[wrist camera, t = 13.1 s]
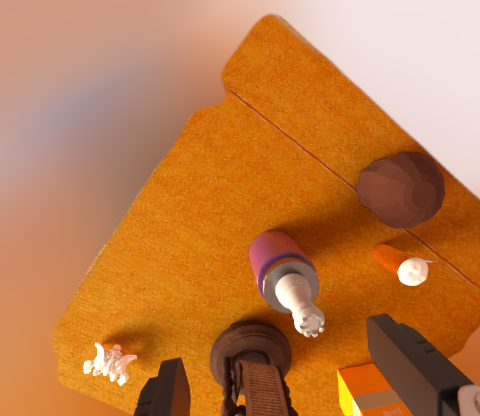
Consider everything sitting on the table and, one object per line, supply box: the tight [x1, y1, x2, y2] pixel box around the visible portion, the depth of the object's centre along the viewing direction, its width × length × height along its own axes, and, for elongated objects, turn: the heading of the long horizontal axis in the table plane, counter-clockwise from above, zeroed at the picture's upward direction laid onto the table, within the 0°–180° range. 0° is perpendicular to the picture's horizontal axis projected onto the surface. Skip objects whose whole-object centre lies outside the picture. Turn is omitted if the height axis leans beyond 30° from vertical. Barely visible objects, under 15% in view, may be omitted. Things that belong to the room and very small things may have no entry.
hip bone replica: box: [83, 342, 137, 386], centre depth 47 cm, size 8×4×7 cm
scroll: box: [210, 321, 298, 416], centre depth 41 cm, size 15×15×20 cm
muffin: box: [355, 152, 445, 228], centre depth 41 cm, size 12×11×10 cm
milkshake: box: [373, 244, 439, 286], centre depth 44 cm, size 4×5×10 cm
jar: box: [249, 230, 316, 299], centre depth 41 cm, size 8×8×12 cm
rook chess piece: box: [275, 274, 325, 337], centre depth 31 cm, size 4×4×8 cm
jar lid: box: [261, 256, 319, 313], centre depth 36 cm, size 8×8×2 cm
